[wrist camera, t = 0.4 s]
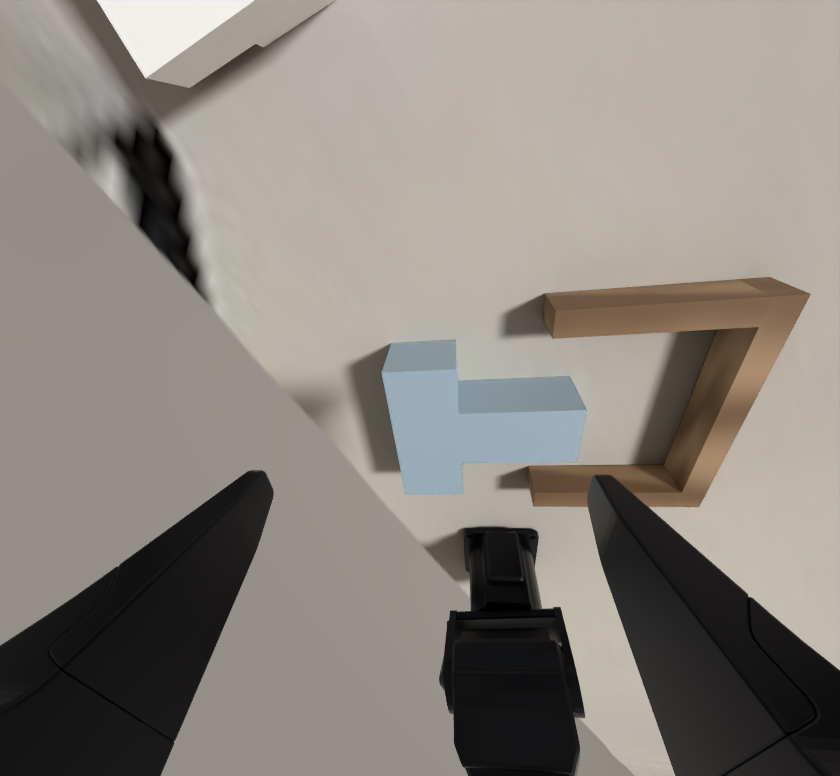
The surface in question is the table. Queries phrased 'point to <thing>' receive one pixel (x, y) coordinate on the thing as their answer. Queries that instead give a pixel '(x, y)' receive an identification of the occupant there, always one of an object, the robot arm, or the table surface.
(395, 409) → the t block
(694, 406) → the pocket
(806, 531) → the table surface
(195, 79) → the bracket
